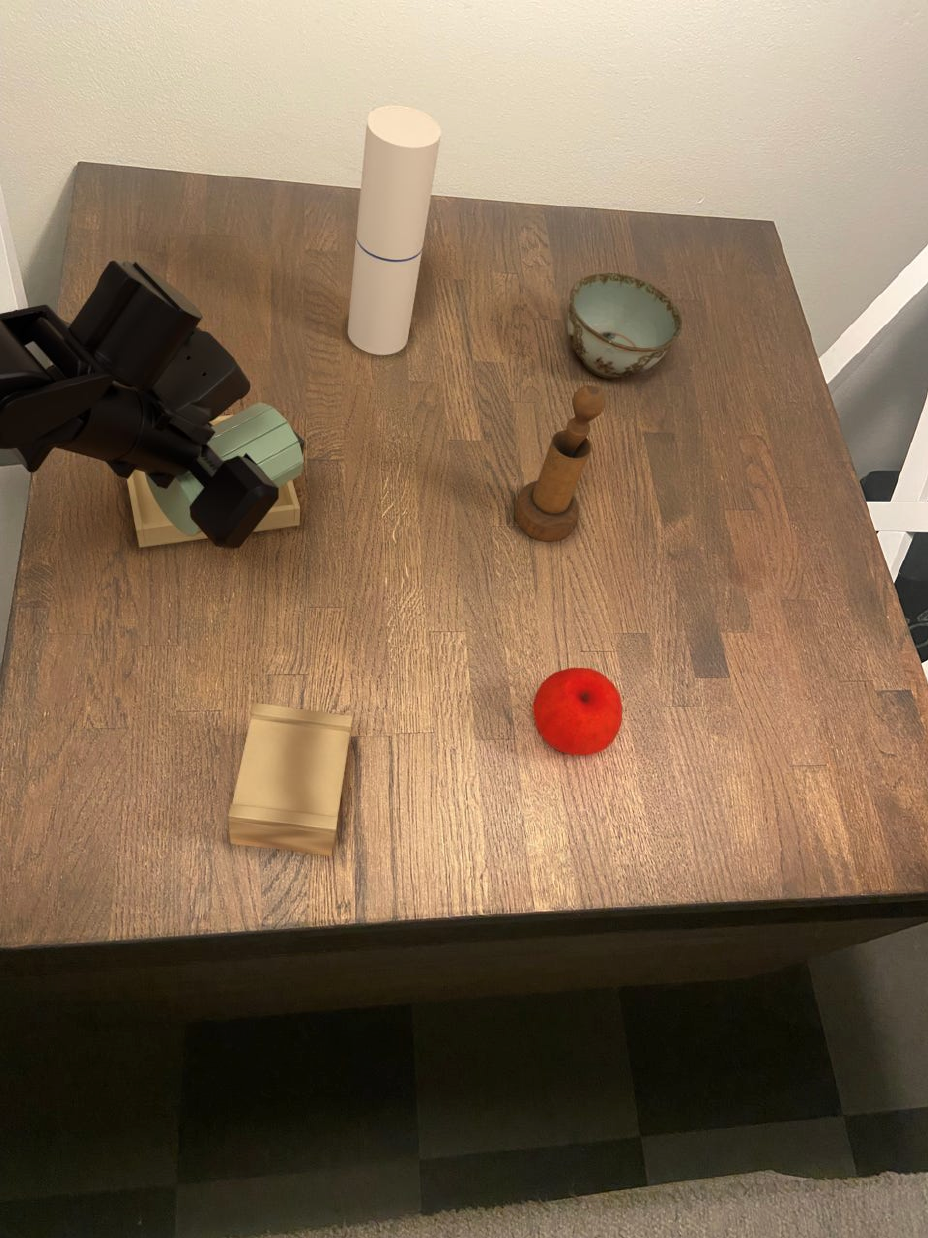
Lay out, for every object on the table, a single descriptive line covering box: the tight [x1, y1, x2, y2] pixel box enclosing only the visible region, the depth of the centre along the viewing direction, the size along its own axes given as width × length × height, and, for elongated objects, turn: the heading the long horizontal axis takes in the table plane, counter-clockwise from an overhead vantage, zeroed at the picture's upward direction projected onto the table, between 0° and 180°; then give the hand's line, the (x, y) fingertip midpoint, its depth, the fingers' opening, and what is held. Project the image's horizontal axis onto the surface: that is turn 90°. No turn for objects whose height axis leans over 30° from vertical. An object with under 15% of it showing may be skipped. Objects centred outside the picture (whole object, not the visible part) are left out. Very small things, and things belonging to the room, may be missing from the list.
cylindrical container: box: [347, 105, 442, 356], centre depth 98 cm, size 7×7×25 cm
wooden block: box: [227, 701, 354, 857], centre depth 73 cm, size 8×10×6 cm
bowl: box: [566, 272, 683, 379], centre depth 110 cm, size 14×13×8 cm
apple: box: [532, 667, 624, 756], centre depth 80 cm, size 8×8×7 cm
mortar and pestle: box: [513, 384, 606, 543], centre depth 90 cm, size 7×6×18 cm
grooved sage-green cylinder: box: [145, 401, 305, 536], centre depth 77 cm, size 11×7×7 cm, turn 136°
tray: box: [126, 414, 301, 548], centre depth 90 cm, size 15×13×3 cm
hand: (245, 465), depth 79 cm, fingers closed on grooved sage-green cylinder, 7 cm apart
